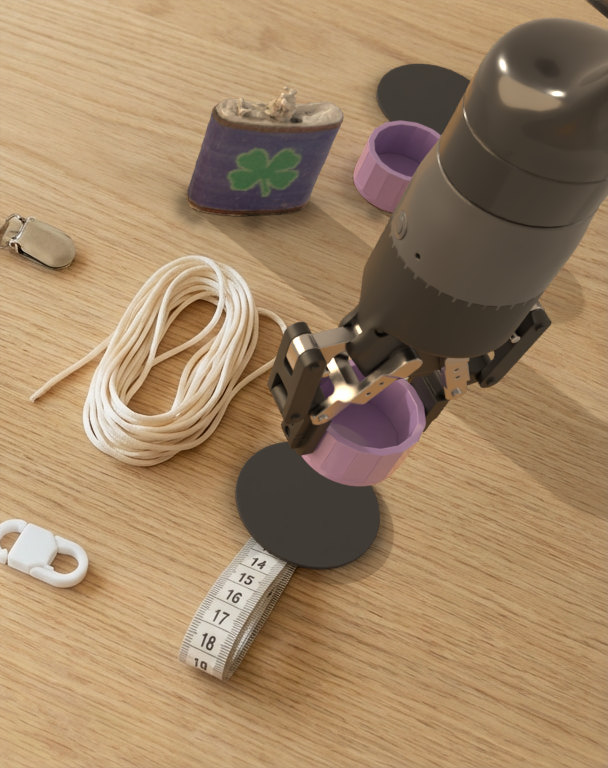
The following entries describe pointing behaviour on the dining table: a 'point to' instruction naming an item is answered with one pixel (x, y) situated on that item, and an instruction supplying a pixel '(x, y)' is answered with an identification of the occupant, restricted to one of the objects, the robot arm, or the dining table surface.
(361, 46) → the dining table surface
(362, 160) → the dish
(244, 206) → the flask
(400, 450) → the dish
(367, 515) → the disc
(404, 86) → the coaster back
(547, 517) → the dining table surface
